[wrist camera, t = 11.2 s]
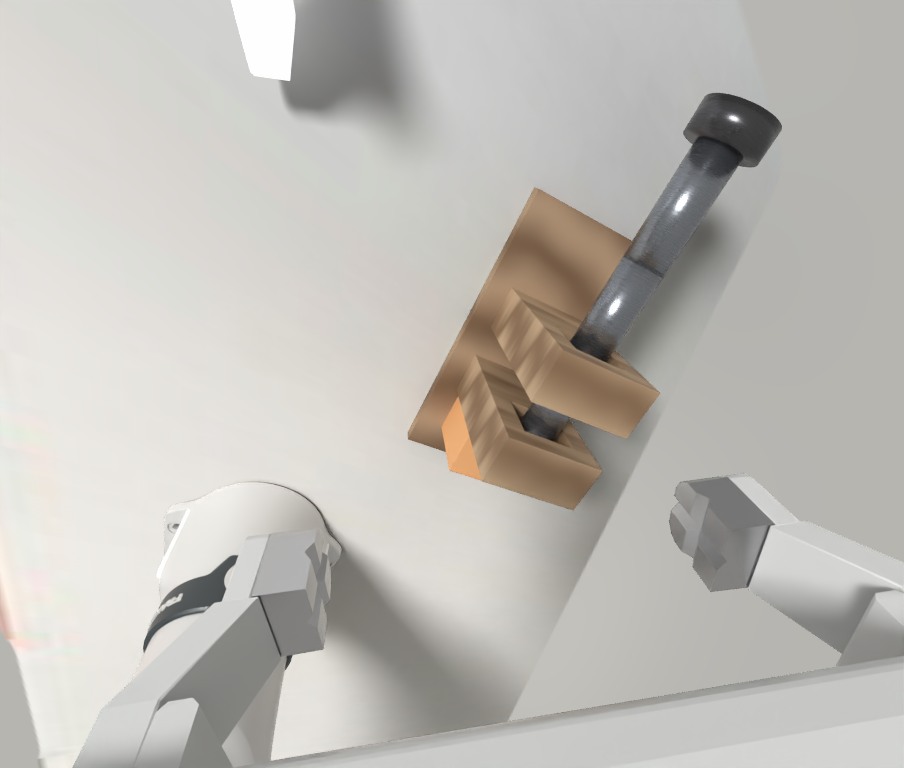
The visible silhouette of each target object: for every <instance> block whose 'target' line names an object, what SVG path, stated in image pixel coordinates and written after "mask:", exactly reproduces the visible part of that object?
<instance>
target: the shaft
mask: <svg viewBox="0 0 904 768" xmlns="http://www.w3.org/2000/svg"><path fill="white" fill-rule="evenodd" d="M781 129H782V125H781V123H780V122H779V120H778V119H777V118H776V117H775V116H774V115H773V114H771V113H770V112H769V111H767V110H766V109H764V108H763V107H761V106H759V105H757V104H755V103H753V102H751V101H748V100H746V99H743V98H740V97H737V96H734V95H730V94H724V93H711V94H708V95H706V96H705V97H704V99H703V100H702V102H701V104H700V105H699V107H698V109H697V110H696V112H695V113H694V115H693V117H692V118H691V120H690V122H689V123H688V125H687V127H686V128H685V130H684V132H683V134H684V136H685V138H686V139H687V140H688V141H689V142H690V143H692V144H693V145H692V146H691V148H690V150H689V151H688V153H687V154H686V156H685V158H684V159H683V161H682V162H681V164H680V166H679V167H678V169H677V170H676V172H675V174H674V175H673V177H672V179H671V180H670V182H669V183H668V185H667V187H666V188H665V190H664V191H663V193H662V195H661V196H660V198H659V199H658V201H657V203H656V204H655V206H654V207H653V209H652V211H651V212H650V214H649V215H648V217H647V219H646V220H645V222H644V223H643V225H642V227H641V228H640V230H639V231H638V233H637V235H636V236H635V238H634V239H633V241H632V243H631V244H630V246H629V247H628V249H627V251H626V252H625V254H624V255H623V257H622V259H621V260H620V262H619V263H618V265H617V267H616V268H615V270H614V271H613V273H612V275H611V276H610V278H609V279H608V281H607V283H606V284H605V286H604V287H603V289H602V291H601V292H600V294H599V295H598V297H597V299H596V300H595V302H594V304H593V305H592V307H591V308H590V310H589V312H588V313H587V315H586V316H585V318H584V320H583V321H582V323H581V324H580V326H579V328H578V329H577V331H576V332H575V334H574V336H573V337H572V339H571V340H570V342H571V344H572V345H573V346H574V347H575V348H576V349H577V350H579V351H582V352H584V353H586V354H588V355H591V356H593V357H595V358H597V359H599V360H602V361H604V362H607V361H608V359H609V358H610V356H611V355H612V353H613V352H614V350H615V349H616V347H617V346H618V344H619V343H620V341H621V340H622V339H623V337H624V336H625V334H626V333H627V331H628V330H629V328H630V327H631V325H632V324H633V322H634V321H635V319H636V318H637V316H638V315H639V313H640V312H641V310H642V309H643V307H644V306H645V304H646V303H647V301H648V300H649V298H650V297H651V295H652V294H653V292H654V291H655V289H656V288H657V286H658V285H659V283H660V282H661V280H662V279H663V277H664V276H665V274H666V273H667V271H668V270H669V268H670V267H671V265H672V264H673V262H674V261H675V259H676V258H677V257H678V255H679V254H680V252H681V251H682V249H683V248H684V246H685V245H686V243H687V242H688V240H689V239H690V237H691V236H692V234H693V233H694V231H695V230H696V228H697V227H698V225H699V224H700V222H701V221H702V219H703V218H704V216H705V215H706V213H707V212H708V210H709V209H710V207H711V206H712V204H713V203H714V201H715V200H716V198H717V197H718V195H719V194H720V192H721V191H722V189H723V188H724V186H725V185H726V183H727V182H728V180H729V179H730V178H731V176H732V175H733V173H734V172H735V170H736V169H737V167H738V166H742V167H755V166H757V165H758V164H759V162H760V161H761V159H762V158H763V156H764V155H765V153H766V152H767V151H768V149H769V148H770V146H771V145H772V143H773V142H774V140H775V139H776V137H777V136H778V134H779V133H780V132H781ZM569 418H570V417H569V416H566V415H564V414H561V413H558V412H556V411H553V410H551V409H548V408H546V407H543V406H541V405H538V404H536V403H533V402H532V403H531V404H530V406H529V408H528V409H527V411H526V412H525V414H524V416H523V417H522V419H521V420H520V422H521V424H522V427H523V429H524V431H526V432H529V433H531V434H534V435H537V436H539V437H542V438H545V439H548V440H550V441H554V440H555V438H556V437H557V435H558V434H559V432H560V431H561V429H562V428H563V426H564V425H565V423H566V422H567V420H568V419H569Z"/></svg>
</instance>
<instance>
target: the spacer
mask: <svg viewBox="0 0 904 768" xmlns="http://www.w3.org/2000/svg"><path fill="white" fill-rule="evenodd" d="M441 428H442V433H443V438H444V444H445V449H446V454H447V460H448V465H449V470H450V471H453V472H456V473H459V474H463V475H466V476H469V477H472V478H475V479H478V480H481V476H480V473H479V469H478V466H477V462H476V458H475V455H474V451H473V448H472V444H471V440H470V437H469V433H468V429H467V426H466V422H465V419H464V415H463V411H462V408H461V404H460V401H459V397H458V398H457V399H456V401H455V403H454V405H453V407H452V408H451V410H450V412H449V414H448V416H447V418H446V419H445V421H444V423H443V425H442V427H441ZM481 481H482V480H481Z"/></svg>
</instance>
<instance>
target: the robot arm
mask: <svg viewBox="0 0 904 768" xmlns="http://www.w3.org/2000/svg"><path fill="white" fill-rule="evenodd" d="M675 497H676V498H677V500H678V501H679V503H678V504H677V505H676V506H675V507H674V508H673V509H672V510H671V514H670V520H669V523H670V528H671V534H672V536H673V538H674V540H675V542H676V544H677V545H678V547H679V548H680V550H681V551H682V552H684V553H686V554H687V555H689V556H691V557H692V558H694V559H693V568H694V570H695V571H696V572H697V574H698V575H699V576H700V578H701V579H702V581H703V582H704V583H705V585H706V586H707V588H708V589H709V590H710V592H713V591H722V590H730V589H739V588H747V587H749V588H748V590H750V591H751V592H753V593H754V594H756V595H757V596H758V597H760V598H761V599H763V600H764V601H766V602H767V603H769V604H770V605H772V606H773V607H774V608H776V609H777V610H779V611H780V612H782V613H783V614H785V615H786V616H788V617H789V618H791V619H792V620H793V621H795V622H796V623H798V624H799V625H801V626H802V627H804V628H805V629H807V630H808V631H810V632H811V633H812V634H814V635H815V636H817V637H818V638H820V639H821V640H823V641H824V642H826V643H827V644H829V645H830V646H832V647H833V648H834V649H836V650H837V651H839V652H840V653H842V655H841V657H840V659H839V661H838V663H837V665H836V666H835V667H832V668H826V669H821V670H814V671H809V672H802V673H796V674H790V675H784V676H778V677H772V678H766V679H760V680H754V681H749V682H742V683H736V684H730V685H724V686H719V687H712V688H706V689H700V690H694V691H688V692H682V693H677V694H670V695H664V696H658V697H653V698H647V699H640V700H634V701H628V702H622V703H617V704H610V705H604V706H598V707H592V708H586V709H580V710H574V711H568V712H562V713H556V714H550V715H545V716H539V717H533V718H526V719H521V720H514V721H508V722H502V723H496V724H490V725H484V726H478V727H472V728H466V729H460V730H454V731H448V732H442V733H436V734H430V735H424V736H418V737H412V738H406V739H400V740H394V741H388V742H382V743H376V744H370V745H364V746H358V747H352V748H346V749H340V750H334V751H328V752H322V753H315V754H309V755H303V756H297V757H291V758H285V759H279V760H273V761H271V752H272V743H273V737H274V731H275V724H276V718H277V712H278V705H279V699H280V694H281V688H282V682H283V676H284V671H285V670H286V668H287V667H288V665H289V664H290V662H291V658H292V655H294V654H300V653H306V652H311V651H317V650H323V649H324V642H325V634H326V627H327V616H326V612H325V608H324V607H325V606H326V605H327V603H328V602H329V601H330V594H331V570H330V569H331V568H332V567H333V566H334V565H335V564H336V562H337V561H338V560H339V558H340V556H341V552H342V548H341V546H340V544H339V543H338V542H337V541H336V540H335V539H334V538H333V537H332V536H331V535H329V533H328V532H327V529H326V527H325V524H324V521H323V519H322V517H321V515H320V513H319V512H318V510H317V509H316V508H315V507H314V506H313V505H312V504H311V503H310V502H309V501H308V500H307V499H305V498H304V497H303V496H301V495H299V494H298V493H296V492H294V491H292V490H289V489H287V488H284V487H281V486H278V485H274V484H268V483H260V482H244V483H236V484H231V485H227V486H224V487H221V488H219V489H216V490H214V491H212V492H210V493H209V494H207V495H205V496H204V497H202V498H200V499H198V500H195V501H188V502H183V503H178V504H174V505H172V506H170V507H169V508H168V510H167V512H166V514H165V517H164V559H163V561H162V563H161V565H160V567H159V570H158V572H157V578H158V579H159V593H160V600H161V605H160V607H159V609H158V610H157V612H156V613H155V615H154V616H153V619H152V621H151V623H150V625H149V626H150V627H149V629H148V633H147V636H146V638H145V641H144V646H143V650H144V655H143V657H142V659H141V661H140V663H139V665H138V667H137V670H136V672H135V674H134V676H133V678H132V680H131V682H130V683H129V684H128V685H127V686H126V687H125V688H124V689H123V690H122V691H120V692H119V693H118V694H117V695H116V696H115V697H114V698H113V699H112V700H111V701H110V702H109V703H108V704H107V705H106V706H105V707H104V708H103V709H102V710H101V712H100V714H99V716H98V718H97V720H96V722H95V724H94V726H93V728H92V730H91V732H90V734H89V736H88V738H87V740H86V742H85V744H84V746H83V748H82V750H81V752H80V754H79V756H78V758H77V760H76V761H75V763H74V765H73V767H72V768H904V563H903V562H901V561H898V560H896V559H894V558H891V557H889V556H886V555H884V554H882V553H880V552H877V551H875V550H873V549H870V548H868V547H866V546H863V545H861V544H859V543H856V542H854V541H852V540H850V539H847V538H845V537H843V536H840V535H838V534H836V533H833V532H831V531H829V530H826V529H824V528H822V527H819V526H817V525H814V524H812V523H810V522H808V521H804V522H800V521H799V520H797V519H796V518H795V517H794V516H793V515H792V514H791V513H790V512H789V511H788V510H787V509H786V508H785V507H783V506H782V505H781V504H780V503H779V502H778V501H777V500H776V499H775V498H774V497H773V496H772V495H770V494H769V493H768V492H767V491H766V490H765V489H764V488H763V487H762V486H761V485H760V484H759V483H758V482H756V481H755V480H754V479H753V478H752V477H751V476H749V475H747V474H745V473H740V474H733V475H726V476H722V477H712V478H705V479H699V480H690V481H683V482H680V483H679V484H678V486H677V487H676V491H675ZM178 524H180V525H178Z"/></svg>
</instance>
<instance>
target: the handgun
mask: <svg viewBox="0 0 904 768" xmlns="http://www.w3.org/2000/svg"><path fill="white" fill-rule="evenodd" d="M231 2H232V6H233V10H234V14H235V18H236V22H237V26H238V29H239V33H240V37H241V40H242V44H243V48H244V51H245V55H246V58H247V62H248V65H249V69H250V72H251V74H253V75H254V76H260V77H266V78H273V79H280V80H286V81H290V76H291V64H292V53H293V41H294V29H295V9H294V3H293V0H231Z"/></svg>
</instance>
